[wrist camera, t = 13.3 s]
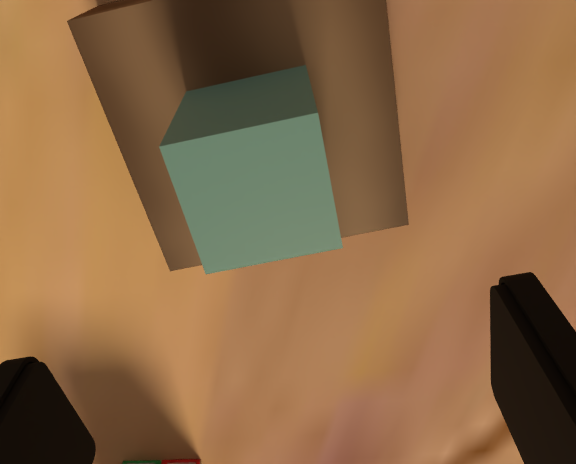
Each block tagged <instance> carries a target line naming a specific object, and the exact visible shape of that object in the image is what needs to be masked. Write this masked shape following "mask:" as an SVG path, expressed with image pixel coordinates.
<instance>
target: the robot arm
mask: <svg viewBox="0 0 576 464" xmlns="http://www.w3.org/2000/svg"><path fill="white" fill-rule="evenodd" d="M490 334H491V385H492V390H493V393H494V397H495V399H496V401H497V404H498V406H499V408H500V410H501V413H502V415H503V417H504V419H505V422H506V424H507V426H508V428H509V431H510V433H511V435H512V437H513V439H514V442H515V444H516V446H517V448H518V451H519V453H520V455H521V457H522V460H523V462H524V464H576V331H575V330H574V329H573V327H572V326H571V324H570V323H569V322H568V320H567V319H566V317H565V316H564V315H563V313H562V312H561V311H560V309H559V308H558V306H557V305H556V304H555V302H554V301H553V299H552V298H551V297H550V295H549V294H548V293H547V291H546V290H545V288H544V287H543V286H542V284H541V283H540V281H539V280H538V279H537V277H536V276H535V275H534V274H533V273H531V272H528V273H522V274H516V275H510V276H504V277H501V278H500V280H499V285H496V286H492V287H491V289H490ZM95 451H96V449H95V442H94V440H93V438H92V436H91V435H90V433H89V432H88V430H87V428H86V427H85V425H84V424H83V422H82V421H81V419H80V417H79V416H78V414H77V413H76V411H75V410H74V408H73V406H72V405H71V403H70V402H69V400H68V399H67V397H66V395H65V394H64V392H63V391H62V389H61V388H60V386H59V384H58V383H57V381H56V380H55V378H54V377H53V375H52V373H51V372H50V370H49V369H48V367H47V366H46V364H45V363H43V362H39V361H38V360H37V359H36V358H34V357H24V358H18V359H13V360H7V361H4V362H2V363H1V364H0V464H92V463H93V460H94V457H95Z"/></svg>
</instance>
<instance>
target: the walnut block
mask: <svg viewBox="0 0 576 464" xmlns="http://www.w3.org/2000/svg"><path fill="white" fill-rule="evenodd" d="M67 22H68V25H69V27H70V30H71V32H72V35H73V37H74V39H75V42H76V44H77V47H78V49H79V51H80V54H81V56H82V59H83V61H84V64H85V66H86V68H87V71H88V73H89V76H90V78H91V81H92V83H93V85H94V88H95V90H96V93H97V95H98V97H99V100H100V102H101V105H102V107H103V110H104V112H105V114H106V117H107V119H108V122H109V124H110V127H111V129H112V131H113V134H114V136H115V139H116V141H117V143H118V146H119V148H120V151H121V153H122V156H123V158H124V160H125V163H126V165H127V168H128V170H129V173H130V175H131V177H132V180H133V182H134V185H135V187H136V189H137V192H138V194H139V197H140V199H141V202H142V204H143V206H144V209H145V211H146V214H147V216H148V219H149V221H150V223H151V226H152V228H153V231H154V233H155V235H156V238H157V240H158V243H159V245H160V248H161V250H162V252H163V255H164V257H165V260H166V262H167V265H168V267H169V269H170V271H174V270H179V269H184V268H189V267H194V266H199V265H202V263H201V260H200V257H199V254H198V252H197V249H196V246H195V243H194V241H193V238H192V235H191V233H190V230H189V227H188V224H187V222H186V219H185V216H184V213H183V211H182V208H181V205H180V202H179V200H178V197H177V194H176V192H175V189H174V186H173V183H172V181H171V178H170V175H169V172H168V170H167V167H166V164H165V162H164V159H163V156H162V153H161V151H160V148H159V146H160V144H161V142H162V140H163V138H164V136H165V134H166V132H167V129H168V127H169V125H170V123H171V121H172V119H173V117H174V115H175V113H176V111H177V109H178V107H179V105H180V103H181V101H182V99H183V97H184V95H185V93H186V91H191V90H195V89H200V88H204V87H209V86H213V85H218V84H222V83H227V82H231V81H236V80H240V79H245V78H249V77H254V76H258V75H263V74H267V73H272V72H276V71H281V70H285V69H290V68H294V67H299V66H303V65H306V68H307V72H308V76H309V80H310V83H311V87H312V91H313V95H314V99H315V103H316V107H317V111H318V115H319V121H320V126H321V132H322V137H323V143H324V148H325V153H326V159H327V164H328V170H329V175H330V181H331V186H332V192H333V197H334V203H335V208H336V213H337V219H338V224H339V230H340V235H341V238H343V237H348V236H353V235H358V234H363V233H368V232H374V231H379V230H384V229H389V228H394V227H399V226H404V225H409V223H408V213H407V203H406V193H405V183H404V174H403V164H402V154H401V144H400V134H399V124H398V114H397V104H396V94H395V84H394V75H393V65H392V55H391V45H390V35H389V25H388V15H387V5H386V0H121V1H117V2H113V3H109V4H104V5H100V6H97V7H95V8H93V9H91V10H89V11H87V12H85V13H82V14H80V15H78V16H76V17H74V18H72V19H70V20H68V21H67Z"/></svg>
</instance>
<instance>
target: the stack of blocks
mask: <svg viewBox="0 0 576 464" xmlns="http://www.w3.org/2000/svg"><path fill="white" fill-rule="evenodd" d="M122 464H201V460H200V459H181V460H152V461H123V463H122Z"/></svg>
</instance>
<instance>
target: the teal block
mask: <svg viewBox="0 0 576 464" xmlns="http://www.w3.org/2000/svg"><path fill="white" fill-rule="evenodd" d="M159 148H160V151H161V153H162V156H163V159H164V162H165V164H166V167H167V170H168V172H169V175H170V178H171V181H172V183H173V186H174V189H175V192H176V194H177V197H178V200H179V202H180V205H181V208H182V211H183V213H184V216H185V219H186V222H187V224H188V227H189V230H190V233H191V235H192V238H193V241H194V243H195V246H196V249H197V252H198V254H199V257H200V260H201V263H202V265H203V268H204V271H205V273H206V274H210V273H215V272H220V271H225V270H231V269H236V268H241V267H246V266H252V265H257V264H262V263H267V262H272V261H278V260H283V259H288V258H293V257H299V256H304V255H309V254H314V253H319V252H325V251H330V250H335V249H340V248H343V246H342V241H341V235H340V230H339V224H338V219H337V213H336V208H335V203H334V197H333V192H332V186H331V181H330V175H329V170H328V164H327V159H326V153H325V148H324V143H323V137H322V132H321V126H320V121H319V115H318V111H317V107H316V103H315V99H314V95H313V91H312V87H311V83H310V80H309V76H308V72H307V68H306V65H303V66H299V67H294V68H290V69H285V70H281V71H276V72H272V73H267V74H263V75H258V76H254V77H249V78H245V79H240V80H236V81H231V82H227V83H222V84H218V85H213V86H209V87H204V88H200V89H195V90H191V91H186V93H185V95H184V97H183V99H182V101H181V103H180V105H179V107H178V109H177V111H176V113H175V115H174V117H173V119H172V121H171V123H170V125H169V127H168V129H167V132H166V134H165V136H164V138H163V140H162V142H161V144H160V146H159Z"/></svg>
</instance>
